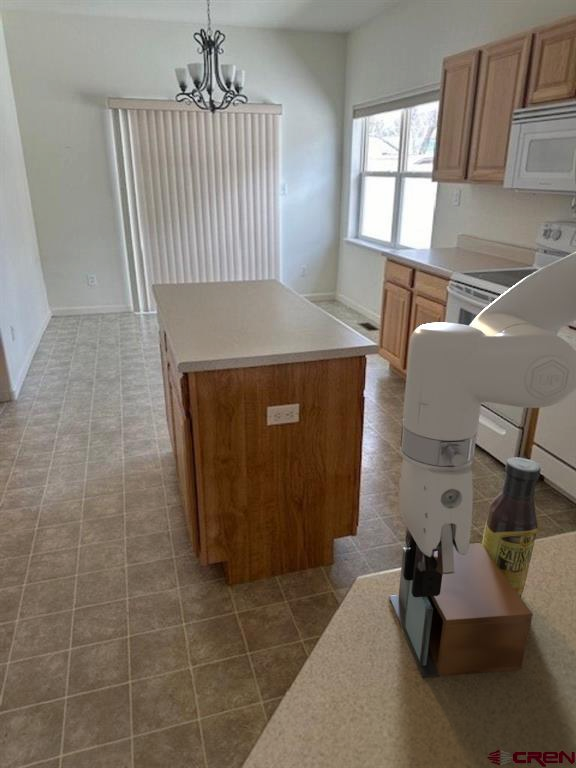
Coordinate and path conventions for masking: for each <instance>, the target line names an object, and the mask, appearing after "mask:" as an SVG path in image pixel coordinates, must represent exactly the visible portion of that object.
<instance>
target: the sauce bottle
mask: <svg viewBox="0 0 576 768" xmlns="http://www.w3.org/2000/svg"><path fill="white" fill-rule="evenodd" d="M504 471H505V477H504V482H503V485H502V491H501V492H500V493H499V494H498V495H497V496H496V497H494V499H493V500H492V501H491V503H490V505H489V508H488V514H487V518H486V519H485V520H486V521H485V525H484V530H483V537H482V541H481V545H482V546H483V547H484V549H485V550H486V551H487V553H488V554H489V556H490V557H491V558H492V560H493V561H494V562H495V564H496V565H497V566H498V568H499V569H500V570H501V572H502V573H503V574H504V576H505V577H506V578H507V580H508V581H509V582H510V584H511V585H512V587H513V588H514V589H515V591H516V592H517V593H518V595H519V596H520V597H521V598H522V595H523V593H524V589H525V585H526V581H527V577H528V573H529V568H530V564H531V561H532V560H531V559H532V555H533V550H534V546H535V541H536V538H537V533H538V527H539V526H538V520H537V513H536V507H535V499H534V498H535V491H536V487H537V481H538V480H539V478H540V477H541V465H540V464H539V463H538V462H536V461H533V460H531V459H528V458H525V457H510V458H508V459H507V460H506V463H505V468H504Z"/></svg>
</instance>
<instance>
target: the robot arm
mask: <svg viewBox="0 0 576 768" xmlns="http://www.w3.org/2000/svg"><path fill="white" fill-rule="evenodd" d="M574 322H576V251H574V252H572V253H570V254H568V255H566V256H564V257H562V258H560V259H558V260H555V261H553V262H552V263H550V264H548V265H546V266H543V267H542V268H540V269H538V270H536V271H535V272H533V273H531V274H529V275H527V276H526V277H524V278H523V279H521V280H519V281H518V282H517V283H516V284H515V285H513V286H512V287H510V288H509V289H508V290H507V291H505V292H504V293H503V294H501V295H500V296H499V297H498V298H496V299H494V301H492V303H490V304H489V305H488V306H486V307H485V308H484V309H483V310H482V311H481V312H480V313H479V314H478V315H476V317H475V318H474V319H473V320H472V321H471V322H470V323H469V324H468V325H467V324H461V323H454V322H431V323H426V324H422V325H420V326H418V327H416V328H415V329H414V331H413V332H412V333H411V335H410V338H409V346H408V354H407V366H406V367H407V368H406V377H405V378H406V379H405V389H404V401H403V410H402V411H403V412H402V422H401V423H402V424H401V434H400V444H399V453H400V456H401V457H402V461H401V468H400V473H399V474H400V475H399V483H398V495H397V507H398V508H397V509H398V511H399V515H400V517H401V518H402V520H403V522H404V525H405V526H406V531H405V546H406V548H410V549H406V553H405V563H404V573H403V576H404V578H405V580H413V582H412V591H411V593H412V595H413V597H428V596H438V595H439V594H440V590H441V582H442V575H443V574H453V573H454V556H453V546H454V547H455V549H456V550H457V552H458V553H459V555H461V554H462V555H465V554H466V553H467V552H468V549H469V544H470V541H471V532H472V523H473V522H472V521H473V505H474V484H473V483H474V481H473V469H472V467H471V466H472V464H473V463H474V457H475V450H476V443H477V437H478V429H479V424H480V423H479V422H480V415H481V407H482V403H491V404H499V405H505V406H511V407H516V408H517V407H518V408H524V409H541V408H546V407H551V406H554V405H556V404H558V403H561V402H563V401H564V400H566V399H567V398H569V396H571V395H572V394H573V392H574V391H576V349H574V347H573V346H572V345H571V344H570V343H569V342H568V341H566V340H565V339H564V338H563V337H561V336H559V335H558V334H555V333H556V332H557V331H559V330H560V329H562V328H564V327H566V326H568V325H570V324H572V323H574ZM416 545H418V547H419V555H418V565H414V564H415V555H416ZM433 552H438V556H436V557H431V555H432V554H433ZM427 556H428V557H429V558H427Z"/></svg>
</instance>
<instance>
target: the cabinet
mask: <svg viewBox="0 0 576 768" xmlns="http://www.w3.org/2000/svg"><path fill="white" fill-rule="evenodd" d="M406 549H410V548H407V547H403V549H402V556H401V557H402V558H401V568H400V569H401V570H400V578H399V588H398V594H397V595H396V594H395V595H389V596H388V598H389V602H390V603H391V604H390V605H391V606H392V609H393V611H394V613H395V616H396V618H397V620H398V623H399V625H400V628H401V631H402V633H403V636H404V638H405V641H406V643H407V645H408V648H409V650H410V652H411V655H412V657H413V661H414V662H415V664H416V668H417V670H418V672H419V674H420V676H421V678H423V679H424V678H425V679H426V678H435V677H445V676H456V675H467V674H468V675H469V674H477V673H490V672H502V671H513V670H522V668H523V664H524V658H525V654H526V649H527V643H528V639H529V633H530V629H531V624H532V619H533V612H532V611H531V610H530V608H529V607H528V605H527V604H526V602H525V601H524V600H523V598H522V596H521V597H520V596H519V595H518V593H517V592H516V591H515V589H514V588H513V587H512V585H511V584H510V582H509V581H508V580H507V578H506V577H505V576H504V574H503V573H502V572H501V570H500V569H499V568H498V566H497V565H496V564H495V562H494V561H493V560H492V558H491V557H490V556H489V554H488V553H487V551H486V550H485V549H484V547H483V546H482V542H475V543H469V549H468V552H467V553H466V554H465V555H462V554H461V555H459V553H458V552H457V550H456V549H455V547H454V546H453V556H454V573H453V574H443V575H442V582H441V590H440V594H439V595H438V596H428V597H427V598H428V600H429V602H430V604H431V606H432V608H433V615H432V623H431V631H430V639H429V647H428V655H427V663H426V665H425V666H421V663H420V661H419V659H418V656H417V654H416V651H415V649H414V647H413V644H412V642H411V639H410V637H409V635H408V632H407V630H406V628H405V625H404V619H405V609H406V599H407V590H408V580H405V578H404V576H403V573H404V563H405V553H406ZM436 556H438V552H434V557H436Z"/></svg>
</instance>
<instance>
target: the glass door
mask: <svg viewBox="0 0 576 768" xmlns="http://www.w3.org/2000/svg"><path fill="white" fill-rule="evenodd" d="M418 555H419V547H418V545H416V555H415V564H414V565H418ZM431 557H434V552H433V554H432V555H431ZM427 558H429V557H428V556H427ZM412 582H413V580H408V590H407V599H406V609H405V619H404V625H405V628H406V630H407V632H408V635H409V637H410V639H411V642H412V644H413V647H414V649H415V651H416V654H417V656H418V659H419V661H420V663H421V666H425V665H426V663H427V655H428V647H429V639H430V631H431V623H432V615H433V608H432V606H431V604H430V602H429V600H428V598H427V597H413V595H412V593H411V591H412Z"/></svg>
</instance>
